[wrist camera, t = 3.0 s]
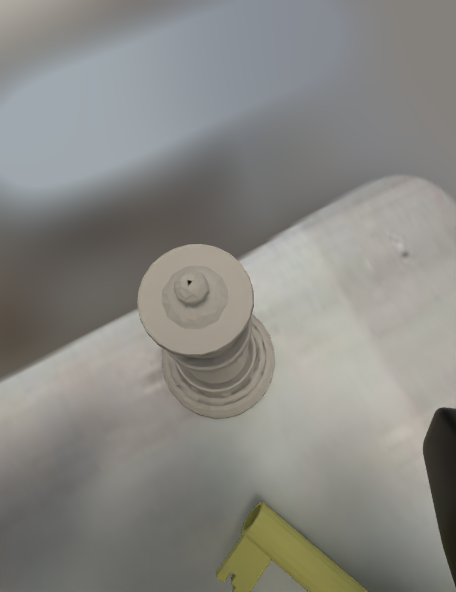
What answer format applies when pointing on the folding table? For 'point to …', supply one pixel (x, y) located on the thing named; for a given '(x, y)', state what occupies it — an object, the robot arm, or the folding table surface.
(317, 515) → the folding table surface
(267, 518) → the key
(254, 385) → the chess piece
